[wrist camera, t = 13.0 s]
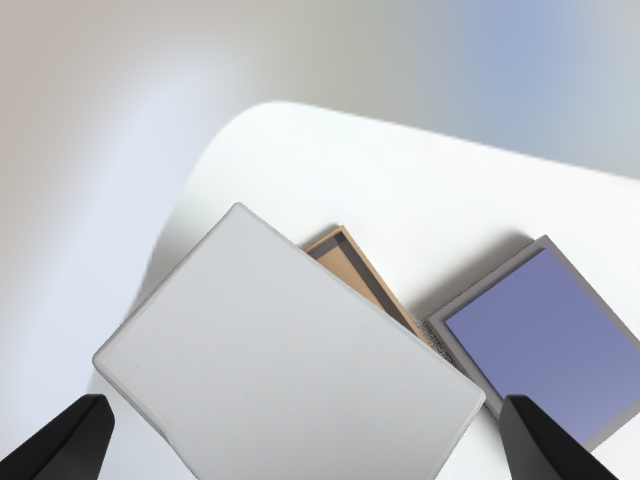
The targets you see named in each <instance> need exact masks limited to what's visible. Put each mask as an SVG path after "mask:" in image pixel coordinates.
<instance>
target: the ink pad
mask: <svg viewBox="0 0 640 480" xmlns="http://www.w3.org/2000/svg"><path fill="white" fill-rule="evenodd" d="M424 322H425V323H426V325H427V326H428V327H429V329H430V330H431V332H432V333H433V334H434V336H435V337H436V338H437V340H438V341H439V342H440V344H441V345H442V346H443V348H444V349H445V350H446V352H447V353H448V355H449V356H450V357H451V359H452V360H453V361H454V363H455V364H456V365H457V367H458V368H459V369H460V371H461V372H462V373H463V375H465V376H466V377H467V378H468V379H470V380H471V381H472V382H473V383H475V384H476V385H477V386H478V387H480V388H481V389H482V390H483V391H484V392H485V395H486V399H485V401H484V403H485V405H486V406H487V407H488V409H489V410H490V411H491V413H492V414H493V415H494V417H495V418H496V420H497V421H498V419H499V415H500V411H501V408H502V405H503V401H504V398H505V396H506V395H508V394H524V395H526V396H528V397H529V398H531V399H532V400H533V401H534V402H535V403H536V404H537V405H538V406H539V407H540V408H541V409H543V410H544V411H545V412H546V413H547V414H548V415H549V416H550V417H551V418H552V419H553V420H555V421H556V422H557V423H558V424H559V425H560V426H561V427H562V428H563V429H564V430H565V431H567V432H568V433H569V434H570V435H571V436H572V437H573V438H574V439H575V440H576V441H577V442H578V443H580V444H581V445H582V446H583V447H584V448H585V449H586V450H587V451H588V452H589V453H590V452H592V451H593V450H594V449H595V448H596V447H598V446H599V445H600V444H601V443H603V442H604V441H605V440H606V439H607V438H609V437H610V436H611V435H612V434H614V433H615V432H616V431H617V430H618V429H620V428H621V427H622V426H623V425H625V424H626V423H627V422H628V421H629V420H631V419H632V418H633V417H634V416H636V415H637V414H638V413H639V412H640V341H639V340H638V339H637V338H636V337H635V336H634V335H633V333H632V332H631V331H630V330H629V329H628V328H627V326H626V325H625V324H624V323H623V322H622V321H621V320H620V318H619V317H618V316H617V315H616V314H615V313H614V312H613V310H612V309H611V308H610V307H609V306H608V305H607V304H606V302H605V301H604V300H603V299H602V298H601V297H600V296H599V294H598V293H597V292H596V291H595V290H594V289H593V288H592V286H591V285H590V284H589V283H588V282H587V281H586V280H585V278H584V277H583V276H582V275H581V274H580V273H579V272H578V270H577V269H576V268H575V267H574V266H573V265H572V264H571V262H570V261H569V260H568V259H567V258H566V257H565V256H564V254H563V253H562V252H561V251H560V250H559V249H558V248H557V246H556V245H555V244H554V243H553V242H552V241H551V240H550V238H549V237H548V236H547V235H544V236H542V237H540V238H538V239H536V240H535V241H533V242H532V243H531V244H529V245H528V246H526V247H525V248H524V249H522V250H521V251H520V252H518V253H517V254H515V255H514V256H513V257H511V258H510V259H508V260H507V261H506V262H504V263H503V264H501V265H500V266H499V267H497V268H496V269H494V270H493V271H492V272H490V273H489V274H488V275H486V276H485V277H483V278H482V279H481V280H479V281H478V282H476V283H475V284H474V285H472V286H471V287H469V288H468V289H467V290H465V291H464V292H463V293H461V294H460V295H458V296H457V297H456V298H454V299H453V300H451V301H450V302H449V303H447V304H446V305H444V306H443V307H442V308H440V309H439V310H438V311H436V312H435V313H433V314H432V315H431V316H429V317H428V318H426V319H425V320H424Z"/></svg>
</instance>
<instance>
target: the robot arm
mask: <svg viewBox="0 0 640 480" xmlns="http://www.w3.org/2000/svg"><path fill="white" fill-rule="evenodd" d="M114 425H115V418H114V414H113V412H112V410H111V407H110V405H109V403H108V400H107V398H106V396H105V395H103V394H86V395H84V396H82V397H80V398H79V399H78V400H77V401H75V402H74V403H73V404H72V405H70V406H69V407H68V408H67V409H65V410H64V411H63V412H62V413H60V414H59V415H58V416H57V417H56V418H54V419H53V420H52V421H51V422H49V423H48V424H47V425H45V426H44V427H43V428H42V429H40V430H39V431H38V432H37V433H36V434H34V435H33V436H32V437H30V438H29V439H28V440H27V441H26V442H24V443H23V444H22V445H21V446H19V447H18V448H17V449H16V450H14V451H13V452H12V453H10V454H9V455H8V456H7V457H5V458H4V459H3V460H2V461H1V462H0V480H97V479H98V476H99V473H100V470H101V467H102V463H103V460H104V457H105V454H106V451H107V448H108V445H109V442H110V439H111V435H112V432H113V429H114ZM498 425H499V430H500V434H501V438H502V442H503V446H504V450H505V453H506V457H507V461H508V465H509V469H510V473H511V477H512V480H619V479H618V478H617V477H615V476H614V475H613V474H612V473H611V472H610V471H609V470H608V469H607V468H606V467H605V466H604V465H602V464H601V463H600V462H599V461H598V460H597V459H596V458H595V457H594V456H593V455H592V454H590V453H589V452H588V451H587V450H586V449H585V448H584V447H583V446H582V445H581V444H580V443H578V442H577V441H576V440H575V439H574V438H573V437H572V436H571V435H570V434H569V433H568V432H567V431H565V430H564V429H563V428H562V427H561V426H560V425H559V424H558V423H557V422H556V421H555V420H553V419H552V418H551V417H550V416H549V415H548V414H547V413H546V412H545V411H544V410H543V409H541V408H540V407H539V406H538V405H537V404H536V403H535V402H534V401H533V400H532V399H531V398H529V397H528V396H526V395H524V394H508V395H506V396H505V398H504V401H503V405H502V408H501V411H500V415H499V419H498Z"/></svg>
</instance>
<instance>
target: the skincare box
mask: <svg viewBox="0 0 640 480" xmlns="http://www.w3.org/2000/svg"><path fill="white" fill-rule="evenodd" d="M92 363H93V365H94V367H95V368H96V370H97V371H98V372H99V373H100V374H101V375H102V376H103V377H104V378H105V379H106V380H107V381H108V382H109V383H110V384H111V385H112V386H113V387H114V388H115V389H116V390H117V391H118V392H119V393H120V394H121V395H122V396H123V397H124V398H125V399H126V400H127V401H128V402H129V403H130V404H131V405H132V406H133V407H134V408H135V409H136V410H137V412H138V413H139V414H140V415H141V416H142V417H143V418H144V419H145V420H146V421H147V422H148V423H149V424H150V425H151V426H152V427H153V428H154V429H155V430H156V431H157V432H158V433H159V434H160V435H161V436H162V437H163V438H164V439H165V440H166V441H167V442H168V444H169V445H170V446H171V447H172V448H173V450H174V451H175V452H176V454H177V455H178V456H179V458H180V459H181V460H182V462H183V463H184V464H185V465H186V467H187V468H188V469H189V470H190V471H191V472H192V473H193V475H194V476H195V477H196V478H197V479H198V480H435V478H436V476H437V475H438V473H439V472H440V470H441V469H442V467H443V465H444V464H445V462H446V461H447V459H448V458H449V456H450V455H451V453H452V451H453V450H454V448H455V447H456V445H457V444H458V442H459V440H460V439H461V437H462V436H463V434H464V433H465V431H466V430H467V428H468V427H469V425H470V423H471V422H472V420H473V419H474V417H475V416H476V414H477V413H478V411H479V409H480V408H481V406H482V405H483V403H484V401H485V399H486V395H485V392H484V391H483V390H482V389H481V388H480V387H478V386H477V385H476V384H475V383H473V382H472V381H471V380H470V379H468V378H467V377H466V376H465V375H463V374H462V373H461V372H460V371H458V370H457V369H456V368H455V367H454V366H452V365H451V364H450V363H449V362H447V361H446V360H445V359H444V358H443V357H441V356H440V355H439V354H438V353H436V352H435V351H434V350H433V349H432V348H430V347H429V346H428V345H427V344H425V343H424V342H423V341H422V340H420V339H419V338H418V337H417V336H415V335H414V334H413V333H412V332H410V331H409V330H408V329H406V328H405V327H404V326H403V325H401V324H400V323H399V322H397V321H396V320H395V319H394V318H392V317H391V316H390V315H388V314H387V313H386V312H384V311H383V310H381V309H380V308H379V307H377V306H376V305H374V304H373V303H372V302H370V301H369V300H368V299H366V298H365V297H363V296H362V295H361V294H359V293H358V292H357V291H355V290H354V289H353V288H351V287H350V286H348V285H347V284H346V283H344V282H343V281H342V280H340V279H339V278H338V277H336V276H335V275H334V274H333V273H331V272H330V271H329V270H327V269H326V268H325V267H323V266H322V265H321V264H320V263H318V262H317V261H316V260H314V259H313V258H312V257H310V256H309V255H308V254H307V253H305V252H304V251H303V250H301V249H300V248H299V247H297V246H296V245H295V244H293V243H292V242H291V241H290V240H288V239H287V238H286V237H284V236H283V235H282V234H280V233H279V232H278V231H277V230H275V229H274V228H273V227H271V226H270V225H269V224H267V223H266V222H265V221H263V220H262V219H261V218H260V217H258V216H257V215H256V214H254V213H253V212H252V211H250V210H249V209H248V208H247V207H246V206H244V205H243V204H242V203H240V202H238V203H235V204H234V205H233V206H232V207H231V208H230V210H229V211H228V212H227V213H226V214H225V215H224V216H223V218H222V219H221V220H220V221H219V222H218V223H217V224H216V225H215V226H214V227H213V228H212V229H211V230H210V231H209V232H208V233H207V234H206V235H205V237H204V238H203V239H202V240H201V241H200V242H199V243H198V244H197V245H196V246H195V247H194V248H193V249H192V250H191V251H190V252H189V253H188V255H187V256H186V257H185V258H184V259H183V260H182V261H181V262H180V263H179V264H178V265H177V266H176V267H175V268H174V269H173V271H172V272H171V273H170V274H169V275H168V276H167V277H166V278H165V279H164V280H163V281H162V282H161V283H160V284H159V285H158V287H157V288H156V289H155V290H154V291H153V292H152V293H151V294H150V295H149V296H148V297H147V298H146V299H145V300H144V301H143V302H142V304H141V305H140V306H139V307H138V308H137V309H136V310H135V311H134V312H133V313H132V314H131V315H130V316H129V317H128V319H127V320H126V321H125V322H124V323H123V324H122V325H121V326H120V327H119V328H118V329H117V330H116V331H115V332H114V334H113V335H112V336H111V337H110V338H109V339H108V340H107V341H106V342H105V343H104V344H103V345H102V346H101V347H100V348H99V350H98V351H97V352H96V353H95V354H94V355H93V358H92Z"/></svg>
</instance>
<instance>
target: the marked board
mask: <svg viewBox="0 0 640 480" xmlns="http://www.w3.org/2000/svg"><path fill="white" fill-rule="evenodd" d="M304 252H305V253H307V254H308V255H309V256H310V257H312V258H313V259H314V260H316V261H317V262H318V263H320V264H321V265H322V266H323V267H325V268H326V269H327V270H329V271H330V272H331V273H333V274H334V275H335V276H336V277H338V278H339V279H340V280H342V281H343V282H344V283H346V284H347V285H348V286H350V287H351V288H353V289H354V290H355V291H357V292H358V293H359V294H361V295H362V296H363V297H365V298H366V299H368V300H369V301H370V302H372V303H373V304H374V305H376V306H377V307H379V308H380V309H381V310H383V311H384V312H386V313H387V314H388V315H390V316H391V317H392V318H394V319H395V320H396V321H397V322H399V323H400V324H401V325H403V326H404V327H405V328H406V329H408V330H409V331H410V332H412V333H413V334H414V335H415V336H417V337H418V338H419V339H420V340H422V341H423V342H424V343H425V344H427V345H428V346H429V347H430V348H432V346H431V345H430V344H429V342H428V341H427V340H426V338H425V337H424V335H423V334H422V333H421V331H420V330H419V329H418V327H417V326H416V325H415V323H414V322H413V320H412V319H411V318H410V316H409V315H408V314H407V312H406V311H405V309H404V308H403V307H402V305H401V304H400V303H399V301H398V300H397V299H396V297H395V296H394V294H393V293H392V292H391V290H390V289H389V288H388V286H387V285H386V283H385V282H384V281H383V279H382V278H381V277H380V275H379V274H378V273H377V271H376V270H375V268H374V267H373V266H372V264H371V263H370V262H369V260H368V259H367V257H366V256H365V255H364V253H363V252H362V251H361V249H360V248H359V247H358V245H357V244H356V242H355V241H354V240H353V238H352V237H351V236H350V234H349V233H348V231H347V230H346V229H345V227H344V226H343V225H342V226H340V227H339V228H337V229H336V230H334V231H333V232H331V233H330V234H328V235H327V236H325V237H324V238H322V239H321V240H319V241H318V242H316V243H314V244H313V245H311V246H310V247H308V248H307V249H305V250H304ZM432 349H433V348H432ZM433 350H434V349H433Z"/></svg>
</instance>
